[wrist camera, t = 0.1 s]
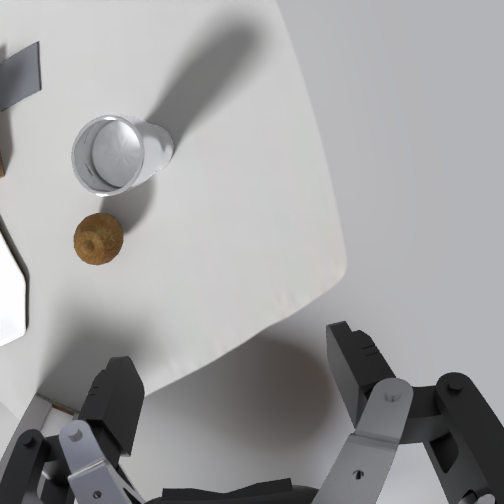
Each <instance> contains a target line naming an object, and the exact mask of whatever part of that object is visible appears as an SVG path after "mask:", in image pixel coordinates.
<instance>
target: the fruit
mask: <svg viewBox="0 0 504 504" xmlns="http://www.w3.org/2000/svg"><path fill="white" fill-rule="evenodd" d="M122 244H123V230H122V228H121V225H120V223H119V222H118V221H117V220H116V219H115V218H114V217H112V216H111V215H109V214H103V213H96V214H93V215H90V216H88V217H86V218H85V219H84V220H83V221H82V222H81V223H80V224H79V225H78V226H77V229H76V231H75V234H74V248H75V251H76V253H77V255H78V256H79V257H80V258H81V260H82V261H84V262H86V263H88V264H92V265H101V264H105V263H108V262H110V261H111V260H112V259H113V258H114V257H115V256H116V255H118V253H119V251H120V249H121V247H122Z"/></svg>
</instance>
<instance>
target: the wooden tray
mask: <svg viewBox="0 0 504 504" xmlns="http://www.w3.org/2000/svg"><path fill="white" fill-rule="evenodd" d="M4 176H5V175H4V170H3V165H2V159H1V154H0V178H2V177H4Z"/></svg>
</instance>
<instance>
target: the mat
mask: <svg viewBox="0 0 504 504" xmlns="http://www.w3.org/2000/svg"><path fill="white" fill-rule="evenodd" d="M40 90H41V88H40V76H39V60H38V43H37V42H36V43H35V44H33V45H31V46H29V47H27V48H26V49H24V50H22V51H20V52H19V53H17V54H15V55H13V56H12V57H10V58H9V59H7V60H5V61H4V62H2V63H1V64H0V110H1V111H3V110H4V109H6V108H8V107H10V106H11V105H13V104H15V103H17V102H19V101H21V100H22V99H24V98H26V97H28V96H30V95H32V94H34V93H36V92H38V91H40Z"/></svg>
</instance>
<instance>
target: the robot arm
mask: <svg viewBox="0 0 504 504" xmlns="http://www.w3.org/2000/svg"><path fill="white" fill-rule="evenodd" d="M326 338H327V357H328V363H329V367H330V370H331V372H332V374H333V377H334V379H335V382H336V384H337V386H338V389H339V391H340V394H341V396H342V399H343V401H344V403H345V406H346V408H347V411H348V413H349V416H350V418H351V421H352V423H353V426H354V428H355V431H354V433H353V434H352V433H351V434H350V435H349V436H348V438H347V440H346V442H345V444H344V446H343V448H342V450H341V451H340V454H339V455H338V457H337V459H336V461H335V463H334V465H333V467H332V469H331V470H330V472H329V474H328V476H327V477H326V479H325V481H324V483H323V484H322V486H321V488H320V490H319V489H316V488H312V487H307V486H298V485H292V483H291V478H287V479H281V480H275V481H269V482H262V483H256V484H254V485H251V486H248V487H245V488H242V489H238V490H235V491H232V492H229V493H217V492H210V491H204V490H199V489H192V488H186V489H164V488H163V493H162V497H158V498H155V499H152V500H150V501H148V502H146V501H145V500H144V499H143V498H142V497H141V495H140V494H139V492H138V491H137V489H136V488H135V487H134V485H133V483H132V482H131V480H130V479H129V477H128V476H127V474H126V472H125V471H124V469H123V468H122V466H121V465H120V463H119V457H120V456H125V457H130V455H131V451H132V446H133V441H134V437H135V433H136V429H137V424H138V420H139V416H140V412H141V407H142V404H143V400H144V394H145V392H144V386H143V383H142V381H141V379H140V377H139V375H138V373H137V371H136V369H135V366H134V364H133V362H132V360H131V359H130V357H128V356H125V357H113V358H111V359H110V360H109V363H108V365H107V367H106V370H102V371H101V372H100V373H99V374H98V375H97V376H96V377H95V379H94V381H93V383H92V386H91V389H90V390H89V393H88V396H87V397H86V400H85V402H84V404H83V407H82V409H81V412H80V414H79V416H78V419H77V420H74V421H71V422H69V423H67V424H66V425H64V426H63V428H62V429H61V431H60V433H59V435H54V436H49V437H44V436H43V435H42V433H41V432H40V431H39V430H37V429H29V430H26V431H25V432H23V433H22V434H21V435H20V436H19V437H18V439H17V442H16V444H15V446H14V449H13V451H12V454H11V456H10V459H9V461H8V464H7V466H6V469H5V472H4V474H3V477H2V480H1V483H0V504H74V500H75V498H76V500H77V502H78V504H375V503H376V501H377V499H378V496H379V494H380V492H381V490H382V487H383V485H384V482H385V480H386V477H387V475H388V472H389V470H390V466H391V465H392V462H393V459H394V457H395V453H396V451H397V448H398V445H399V444H411V443H421V442H423V444H424V446H425V449H426V451H427V453H428V456H429V458H430V460H431V462H432V464H433V467H434V469H435V471H436V474H437V476H438V478H439V480H440V483H441V486H442V488H443V490H444V493H445V495H446V497H447V500H448V502H449V504H504V427H503V426H502V424H501V423H500V421H499V420H498V418H497V417H496V415H495V414H494V412H493V411H492V409H491V408H490V406H489V405H488V403H487V402H486V400H485V399H484V397H483V396H482V395H481V393H480V392H479V390H478V389H477V388H476V386H475V385H474V384H473V382H472V381H471V379H470V378H469V377H467V376H466V375H464V374H462V373H456V372H452V373H447V374H445V375H443V376H441V377H440V378H439V380H438V382H437V384H436V385H435V386H426V387H412V386H411V385H410V384H409V383H408V382H407V381H405V380H402V379H399V378H396V376H395V375H394V373H393V371H392V370H391V369H390V367H389V365H388V364H387V362H386V360H385V359H384V357H383V356H382V354H381V353H380V352H379V350H378V348H377V346H375V343H374V342H373V341H372V339H371V337H370V336H369V335H367V334H366V333H364V332H362V331H361V330H358V331H354V332H352V331H351V329H350V328H349V326H348V324H347V323H346V321H342V322H338V323H333V324H329V325H327V326H326ZM41 474H42V475H43V476H44V477H45V478H46V479H45V483H44V486H43V490H42V494H41V497H40V499H39V497H38V494H37V487H38V484H39V480H40V477H41Z"/></svg>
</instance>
